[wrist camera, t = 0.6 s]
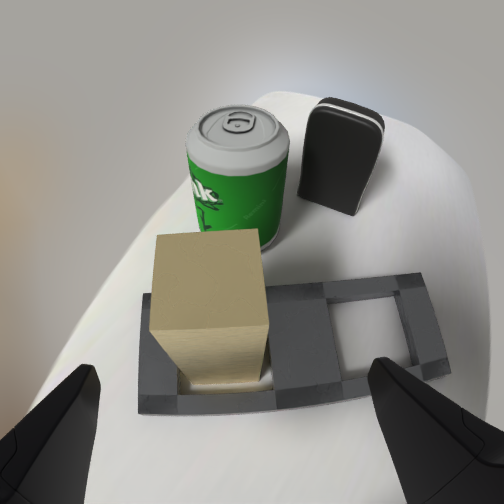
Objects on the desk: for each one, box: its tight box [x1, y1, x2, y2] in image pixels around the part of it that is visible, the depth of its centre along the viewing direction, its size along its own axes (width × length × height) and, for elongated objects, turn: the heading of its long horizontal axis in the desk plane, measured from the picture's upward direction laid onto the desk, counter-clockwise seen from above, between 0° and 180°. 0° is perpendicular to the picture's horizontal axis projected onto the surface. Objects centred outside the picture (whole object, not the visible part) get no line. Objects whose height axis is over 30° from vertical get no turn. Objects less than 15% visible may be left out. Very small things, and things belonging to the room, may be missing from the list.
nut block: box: [149, 229, 269, 385], centre depth 19 cm, size 5×5×12 cm
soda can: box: [186, 105, 290, 251], centre depth 26 cm, size 8×8×12 cm
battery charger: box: [297, 97, 385, 216], centre depth 29 cm, size 7×4×11 cm, turn 64°
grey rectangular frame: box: [138, 273, 451, 416], centre depth 24 cm, size 10×25×1 cm, turn 95°
